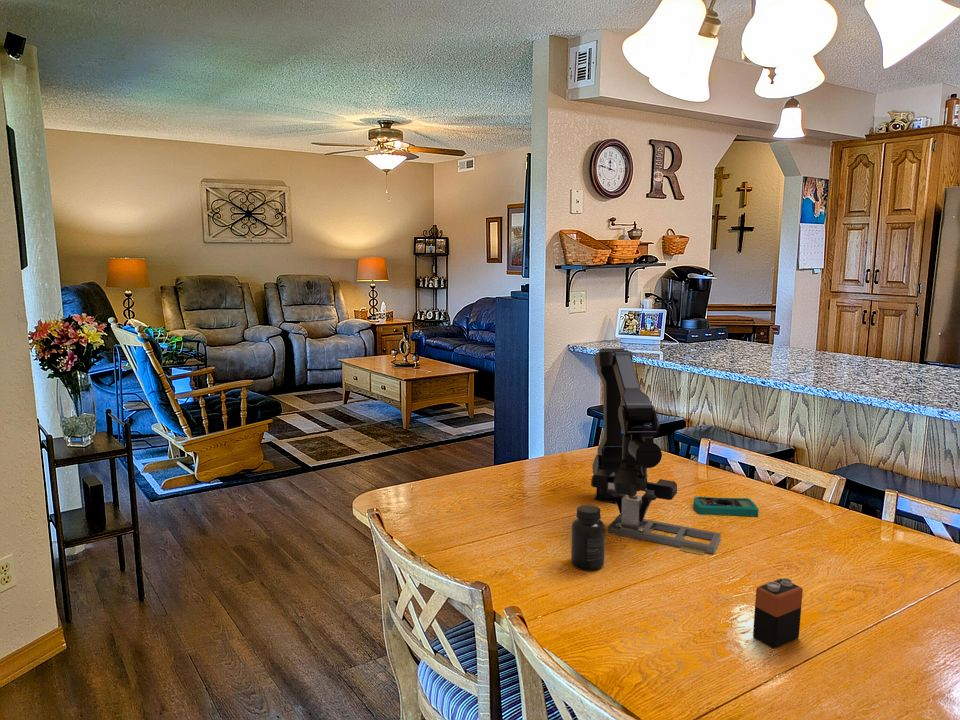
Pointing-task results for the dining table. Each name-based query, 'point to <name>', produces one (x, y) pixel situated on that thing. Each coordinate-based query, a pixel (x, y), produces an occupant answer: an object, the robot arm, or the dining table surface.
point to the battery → (777, 612)
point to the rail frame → (677, 541)
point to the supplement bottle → (588, 539)
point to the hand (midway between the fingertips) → (632, 519)
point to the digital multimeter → (725, 506)
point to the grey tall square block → (631, 512)
